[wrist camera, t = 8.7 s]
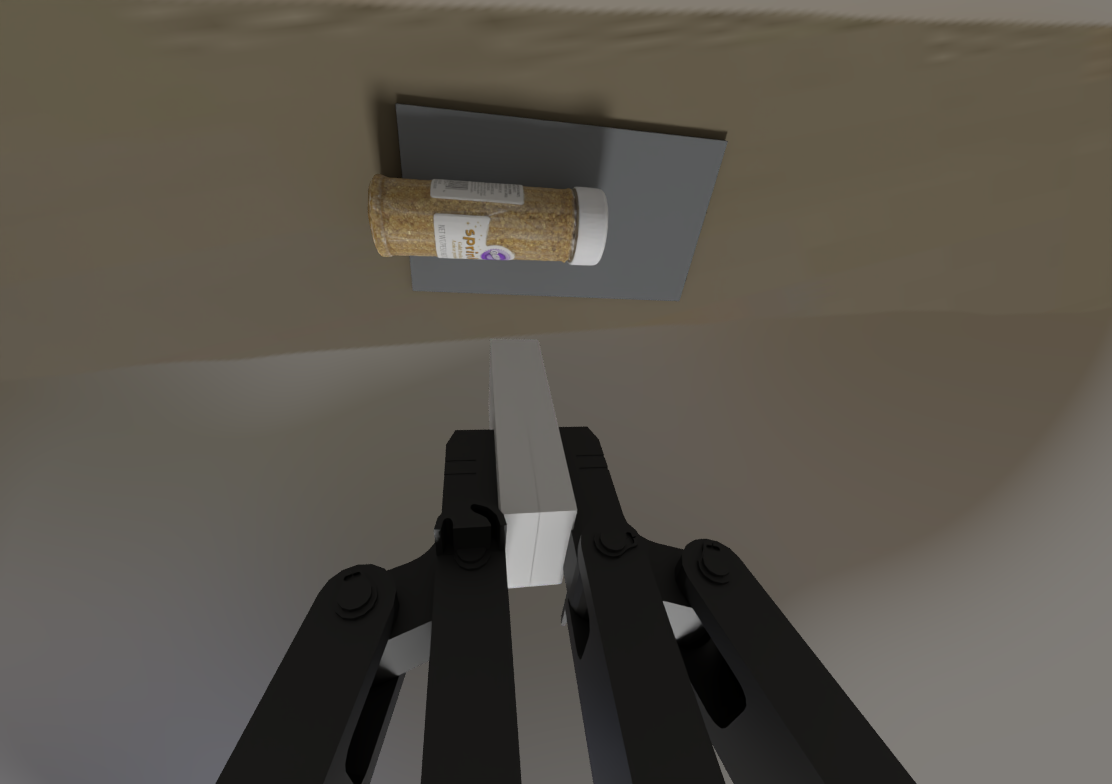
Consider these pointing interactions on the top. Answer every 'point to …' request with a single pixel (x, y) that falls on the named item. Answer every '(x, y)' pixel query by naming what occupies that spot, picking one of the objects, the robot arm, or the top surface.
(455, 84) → the top surface
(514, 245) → the sprinkles bottle
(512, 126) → the mat
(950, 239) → the top surface
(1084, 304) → the top surface
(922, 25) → the top surface
